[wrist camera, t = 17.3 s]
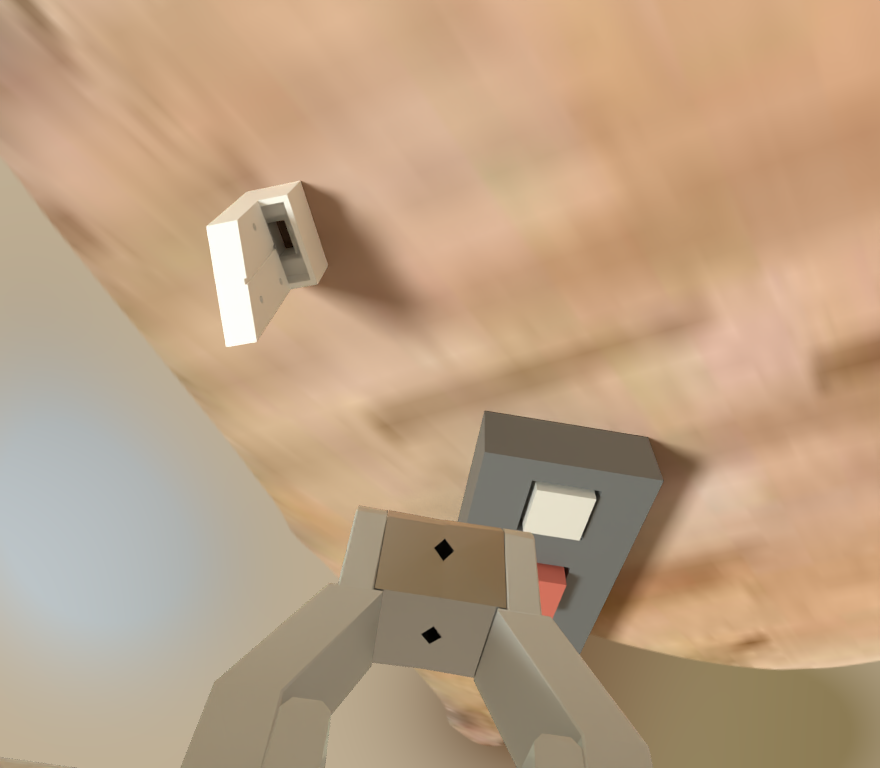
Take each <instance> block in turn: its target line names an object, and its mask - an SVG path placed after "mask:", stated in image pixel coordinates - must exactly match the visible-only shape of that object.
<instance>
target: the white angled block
mask: <svg viewBox="0 0 880 768" xmlns="http://www.w3.org/2000/svg"><path fill="white" fill-rule="evenodd" d="M281 220H284V221H285V224H286V227H287V230H288V232H289V235H290V238H291V241H292V244H293V247H291V248H285V245H284V242H283V240H282V237H281V234H280V231H279V228H278V226H277V223H276V221H281ZM206 228H207V234H208V240H209V246H210V252H211V258H212V264H213V270H214V277H215V283H216V289H217V295H218V301H219V307H220V313H221V319H222V325H223V332H224V338H225V344H226V347H230V346H236V345H242V344H248V343H254V342H257V341H258V339H259V338H260V336H261V335H262V333H263V332H264V330H265V329H266V327H267V326H268V324H269V322H270V321H271V319H272V318H273V316H274V315H275V313H276V312H277V310H278V308H279V307H280V305H281V304H282V302H283V301H284V299H285V298H286V296H287V294H288V293H289V291H290V290H291V289H295V288H301V287H306V286H312V285H317V284H318V283H319V281H320V280H321V278H322V276H323V274H324V273H325V271H326V269H327V267H328V263H327V260H326V257H325V254H324V251H323V248H322V245H321V242H320V239H319V236H318V233H317V230H316V227H315V224H314V220H313V217H312V214H311V211H310V208H309V205H308V202H307V199H306V196H305V193H304V190H303V187H302V184H301V181H296V182H291V183H287V184H282V185H277V186H272V187H267V188H263V189H258V190H253V191H248V192H246V193H245V194H244V195H242V196H241V197H240V198H239V199H238V200H236V201H235V202H234V203H233V204H232V205H231V206H229V207H228V208H227V209H226V210H225V211H224V212H222V213H221V214H220V215H219V216H218V217H217V218H215V219H214V220H213V221H212V222H211V223H210V224H208V225H207V226H206Z"/></svg>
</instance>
